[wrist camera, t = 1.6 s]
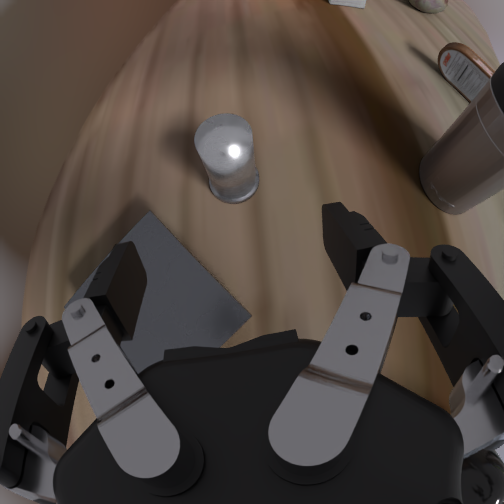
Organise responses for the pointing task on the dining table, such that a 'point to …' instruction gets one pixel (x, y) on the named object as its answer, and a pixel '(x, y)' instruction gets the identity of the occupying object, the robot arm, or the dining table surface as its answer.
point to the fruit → (430, 5)
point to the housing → (228, 157)
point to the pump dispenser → (482, 478)
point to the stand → (174, 298)
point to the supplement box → (349, 3)
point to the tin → (464, 69)
